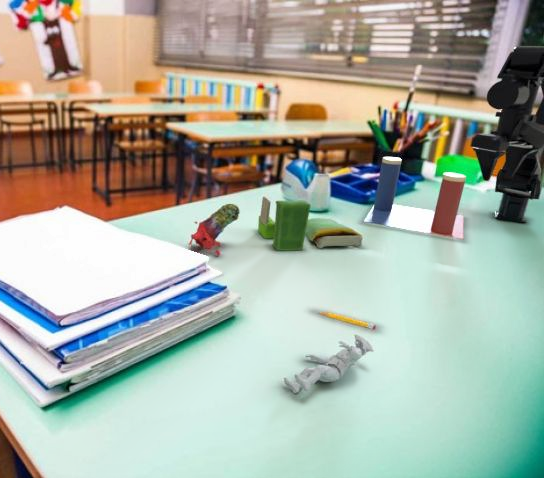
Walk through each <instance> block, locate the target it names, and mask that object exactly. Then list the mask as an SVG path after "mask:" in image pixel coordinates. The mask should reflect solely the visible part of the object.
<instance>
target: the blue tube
mask: <svg viewBox="0 0 544 478" xmlns="http://www.w3.org/2000/svg"><path fill="white" fill-rule="evenodd" d="M402 160H403V159H401V158H400V157H395V156H394V157H393V156H383V157H382V160H381V166H380V171H379V176H378V182H377V186H376V187H377V188H376V191H375V192H376V193H375V197H374V204H373V206H374V209H376V210H380V211H391V210H392V207H393V205H394V201H395V197H396V191H397V186H398V180H399V176H400V172H401V171H400V170H401V165H402Z"/></svg>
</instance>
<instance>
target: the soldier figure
mask: <svg viewBox="0 0 544 478" xmlns="http://www.w3.org/2000/svg"><path fill="white" fill-rule="evenodd" d="M353 336H354V341H355V342H354V344H355V346H353V345H350V344H347V342H345V341H342V340H341V341H337V343H338V344H339V346H338V347H340V348H343V349H341V350H340V351H338V352H337V353H336V354H332V355H331V356H330V357H329V358H325V357H322V356H318V355H315V354H307V355H305V358H310V359H309V360H308V361H309V362H313V361H317V363H319V364H318V365H316V367H305V368H303V370H302V371H301V372H300V374H294V379H295V382H293V381H291V380H290V379H289V378H288V377H284V378H283V381H284V384H285V385H286V386H287V388H289V389H290V390H291V392H293V394H296V395H297V394H298V393H299V392H300V390H301V389H302V390H303V391H305V392H308V391H309V390H310V389H311V386H313V385H314V384H315V383H317V381H320V382H323V383H329V382H331V383H332V382H337V381H339V380H340V379H341V378H342V377H343V376H344V374H345V373H346V371H347V369H349V368H351V367H353V366H355V363H357V362H358V361H359V360H360V359H361V358H362V357H363V356H365V355H366V354H367V353H369V352H371V353H372V352H374V349H373V347H372V344H371V343H370V342H369V341H368V340H366V339H365V338H364V337H363V336H361V335H358V334H354V335H353Z"/></svg>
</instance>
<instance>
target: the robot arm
mask: <svg viewBox="0 0 544 478" xmlns="http://www.w3.org/2000/svg"><path fill="white" fill-rule="evenodd" d="M496 78H497V80H499V79H500V80H499V81H497V82H495V83H494V84H492V86H491V87H489V90H488V91H487V93H486V101H487V103H488V105H489V106H490V107H491V108H492V109H495V110H497V111H496V112H495V117H496V118H498V121H497V124H496V128H495V130H491V131H490V133H478V134H475V135H473V136H472V137H471V140H470V144H469V147H471V148H472V151H473V152H475V156H476V158H477V161H478V164H479V169H480V172H481V176H482V180H483V181H485V182H490V180H491V178H492V175H493V173H494V171H495V168H496V166H497V163H498V160H499V159H500V158H501V157H503V156H505V161H504V163H503V166H502V167H501V168H500V169H499V170H498V172H497V175H496V180H495V187H494V193H500V194H502V195H501V199H500V203H499V207H498V209H497V210H494V217H495V219H497V220H503V221H510V222H515V223H522V224H526V223H527V219H526V216H525V213H526V211H527V208H528V205H529V201H530V200H531V201H533V200H540V197H541V193H542V190H543V187H542V186H543V185H542V176H541V174H542V168H541V163H540V158H541V155H542V153H543V151H544V45H543V46H542V45H517V46H516V47H514V49H513V50H512V51H510V53H509V54H508V56H507V58H506V60H505V61H504V63H503V65H502V67H501V69H500V71H499V72H498V74H497V77H496ZM540 89H541V93H542V99H541V101H540V103H539V105H538V108H537V110H536V112H535V113H533V112H534V108H535V103H536V100H537V97H538V93H539V91H540ZM499 110H500V111H499Z"/></svg>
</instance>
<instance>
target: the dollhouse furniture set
mask: <svg viewBox="0 0 544 478" xmlns="http://www.w3.org/2000/svg"><path fill="white" fill-rule="evenodd" d="M275 204H276V205H275V217H274V219H275V220H274V219H272V218H271V217H270V212H271V200H270V199H269V198H267V197H266V196H262V199H261V209H260V215H258V222H257V223H258V226H257V227H258V229H257V230H258V232H259V233H260V235H261V236H262V237H263V239H265V240H267V239H268V240H269V239H273V244H272V246H273V248H274V249H275V250H276V251H277V252H279V251H280V252H281V251H282V252H283V251H285V252H286V251H302V250H303V248H304V243H305V237H308V238H309V239H310V241H311V242H314V243H315V244H316V247H317V248H318V249H323V248H324V247H341V246H342V247H343V246H345V247H346V246H355V247H361V246H362V244H363V243H362V242H363V236H362V234H360V233H359V232H357V231H356V230H354V229H353V228H351V227H349V226H346V225H344V224H340V223H338V222H337V221H335V220H333V219H332V218H325V217H324V218H323V217H314V218H309V216H310V211H311V204H310V203H309V202H308V201H306V200H305V199H304V200H303V199H302V200H299V199H298V200H276V201H275Z"/></svg>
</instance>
